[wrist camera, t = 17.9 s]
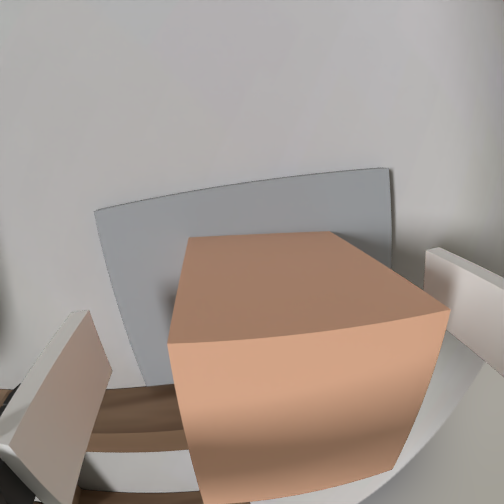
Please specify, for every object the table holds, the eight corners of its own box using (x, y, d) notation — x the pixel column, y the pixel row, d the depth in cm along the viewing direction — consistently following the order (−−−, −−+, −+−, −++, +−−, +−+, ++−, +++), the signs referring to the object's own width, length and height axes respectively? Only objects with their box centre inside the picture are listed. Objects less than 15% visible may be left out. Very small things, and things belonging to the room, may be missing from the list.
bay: (-6, 388, 14) (-28, 420, 11) (214, 378, 16) (217, 425, 12) (75, 496, 18) (69, 525, 15) (248, 494, 19) (255, 528, 16)
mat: (98, 209, 13) (93, 211, 12) (382, 167, 14) (388, 168, 13) (148, 379, 15) (146, 386, 15) (382, 333, 16) (387, 338, 16)
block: (188, 237, 13) (167, 343, 5) (329, 231, 14) (451, 309, 6) (199, 360, 15) (204, 505, 7) (320, 348, 15) (392, 469, 8)
